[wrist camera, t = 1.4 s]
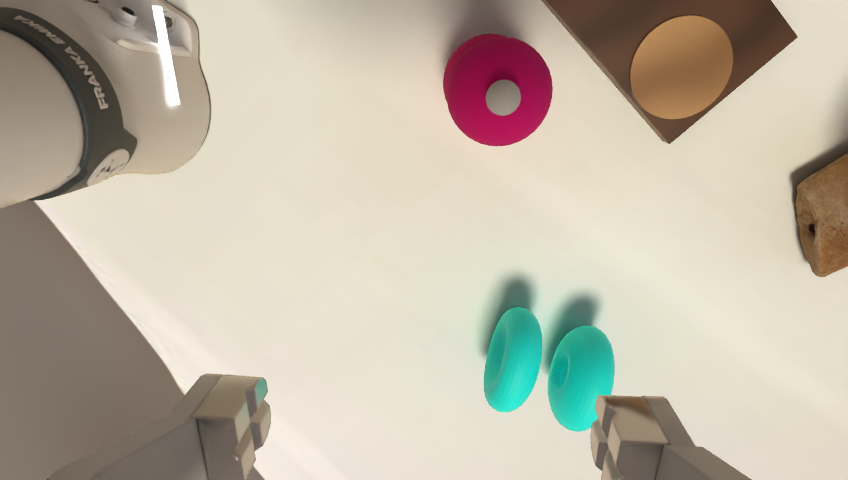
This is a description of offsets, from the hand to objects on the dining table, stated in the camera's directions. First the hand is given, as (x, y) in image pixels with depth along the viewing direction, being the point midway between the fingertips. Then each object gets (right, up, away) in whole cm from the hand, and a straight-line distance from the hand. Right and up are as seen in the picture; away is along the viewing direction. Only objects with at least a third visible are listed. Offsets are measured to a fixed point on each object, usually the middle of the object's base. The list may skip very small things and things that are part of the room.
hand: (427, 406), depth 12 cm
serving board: (+18, +24, +27) cm, 41 cm away
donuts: (+12, -6, +40) cm, 42 cm away
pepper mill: (+5, +18, +31) cm, 36 cm away
